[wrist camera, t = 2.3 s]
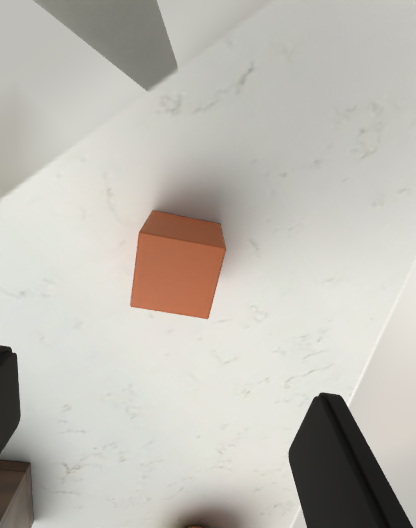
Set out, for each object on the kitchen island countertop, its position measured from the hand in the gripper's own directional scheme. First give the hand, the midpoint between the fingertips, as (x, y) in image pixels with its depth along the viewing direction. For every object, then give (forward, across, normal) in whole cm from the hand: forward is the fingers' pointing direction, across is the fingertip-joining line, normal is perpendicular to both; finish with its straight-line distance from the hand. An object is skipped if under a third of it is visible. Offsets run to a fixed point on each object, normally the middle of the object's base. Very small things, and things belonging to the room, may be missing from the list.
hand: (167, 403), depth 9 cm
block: (+12, 0, -1) cm, 12 cm away
